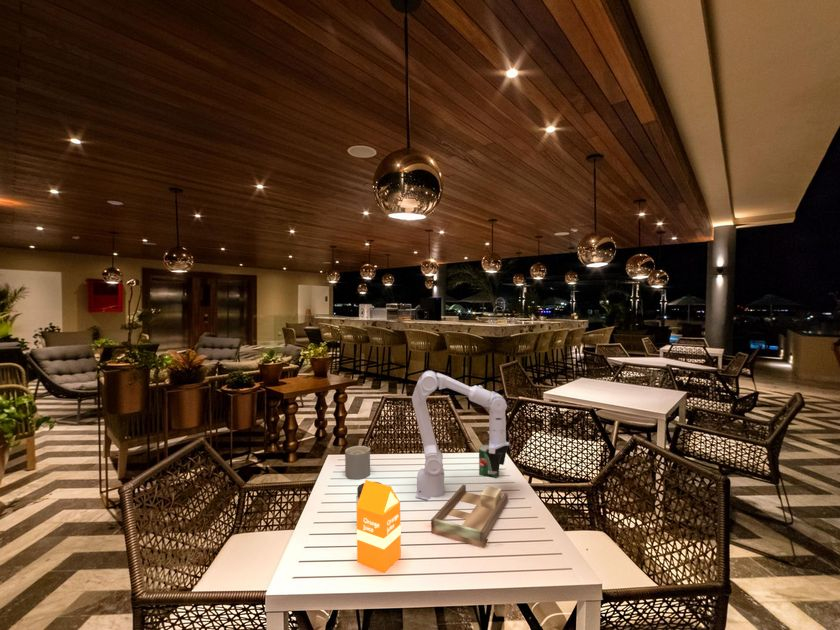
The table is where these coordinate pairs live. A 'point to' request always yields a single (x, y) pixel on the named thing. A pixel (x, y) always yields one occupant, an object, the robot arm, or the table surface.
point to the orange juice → (378, 527)
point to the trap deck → (467, 519)
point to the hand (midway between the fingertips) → (498, 467)
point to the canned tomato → (485, 463)
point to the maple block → (490, 497)
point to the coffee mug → (357, 462)
